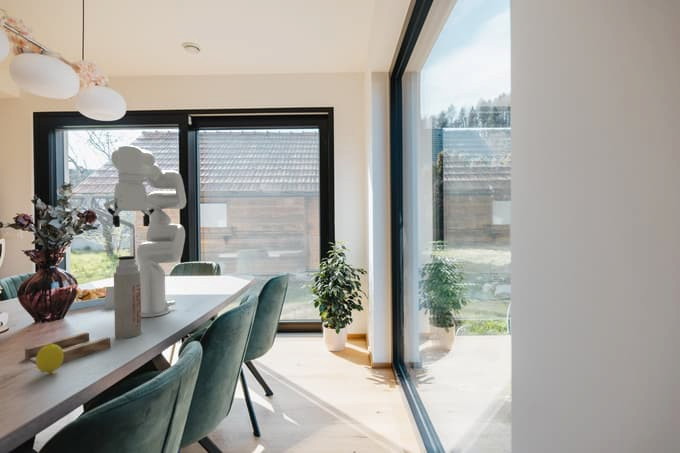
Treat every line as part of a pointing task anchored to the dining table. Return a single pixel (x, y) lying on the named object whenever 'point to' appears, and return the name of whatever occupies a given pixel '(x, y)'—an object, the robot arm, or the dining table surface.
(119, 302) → the thermos bottle
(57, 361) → the lemon
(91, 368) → the dining table surface
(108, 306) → the grey rectangular block
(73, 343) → the rail rest
